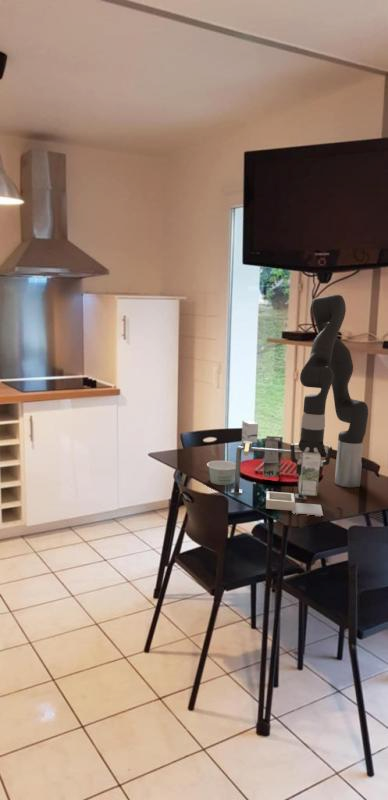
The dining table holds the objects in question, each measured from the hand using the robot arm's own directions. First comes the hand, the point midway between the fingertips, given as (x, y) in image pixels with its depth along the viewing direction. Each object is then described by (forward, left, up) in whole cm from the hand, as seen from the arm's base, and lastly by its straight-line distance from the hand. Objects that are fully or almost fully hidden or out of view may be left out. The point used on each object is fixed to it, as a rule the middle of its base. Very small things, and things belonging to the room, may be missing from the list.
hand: (308, 475), depth 205 cm
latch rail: (+13, -13, -12) cm, 22 cm away
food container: (+31, -25, -12) cm, 42 cm away
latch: (+21, -7, +5) cm, 23 cm away
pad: (0, 0, -12) cm, 12 cm away
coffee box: (+12, -34, -12) cm, 38 cm away
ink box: (+23, -84, -12) cm, 88 cm away
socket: (+9, -3, -12) cm, 15 cm away
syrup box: (0, 0, -6) cm, 6 cm away
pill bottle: (-1, -24, -12) cm, 27 cm away
